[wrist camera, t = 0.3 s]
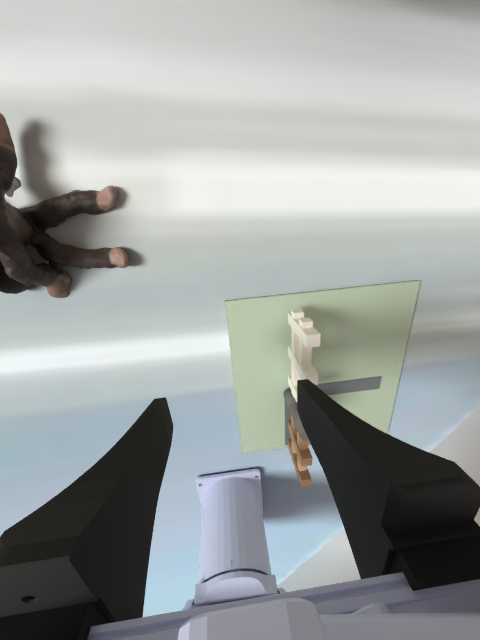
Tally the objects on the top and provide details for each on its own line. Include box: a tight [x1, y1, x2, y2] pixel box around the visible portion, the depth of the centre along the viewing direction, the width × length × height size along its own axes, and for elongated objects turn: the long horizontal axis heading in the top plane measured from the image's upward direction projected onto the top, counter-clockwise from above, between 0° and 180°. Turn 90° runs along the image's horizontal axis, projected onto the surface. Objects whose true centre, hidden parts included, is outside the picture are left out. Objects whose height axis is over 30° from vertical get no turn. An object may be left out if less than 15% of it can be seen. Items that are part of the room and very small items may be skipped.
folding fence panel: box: [288, 309, 321, 402], centre depth 20 cm, size 9×1×5 cm, turn 5°
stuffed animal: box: [0, 113, 129, 298], centre depth 17 cm, size 12×10×12 cm
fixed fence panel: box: [283, 387, 312, 487], centre depth 24 cm, size 8×2×5 cm, turn 5°
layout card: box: [225, 280, 420, 454], centre depth 25 cm, size 19×18×1 cm
